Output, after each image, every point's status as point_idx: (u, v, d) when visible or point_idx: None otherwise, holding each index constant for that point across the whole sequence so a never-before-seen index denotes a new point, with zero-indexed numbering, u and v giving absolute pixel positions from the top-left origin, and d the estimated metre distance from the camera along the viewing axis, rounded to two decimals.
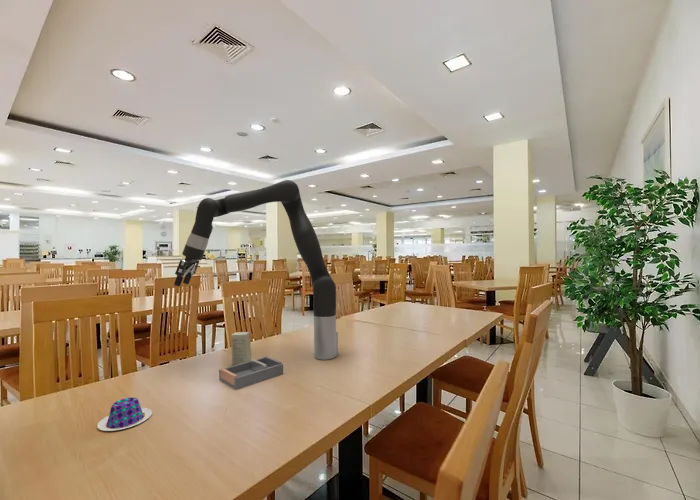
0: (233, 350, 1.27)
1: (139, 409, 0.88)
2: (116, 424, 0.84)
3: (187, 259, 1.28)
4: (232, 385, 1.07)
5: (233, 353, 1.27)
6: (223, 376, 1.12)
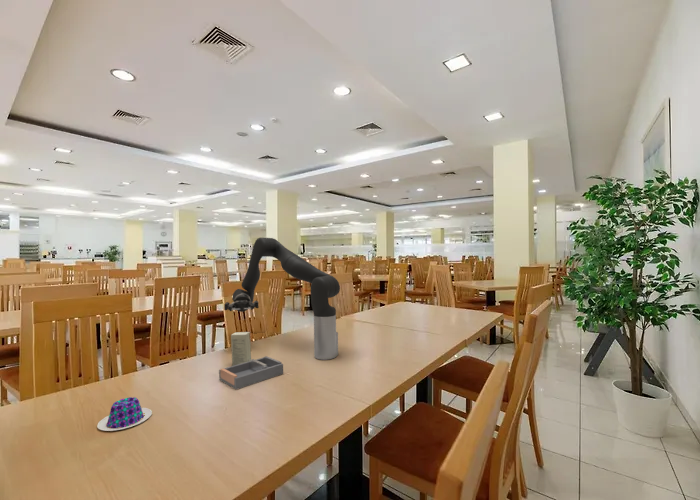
0: (233, 350, 1.27)
1: (139, 409, 0.88)
2: (117, 424, 0.84)
3: None
4: (232, 385, 1.07)
5: (233, 353, 1.27)
6: (223, 376, 1.12)
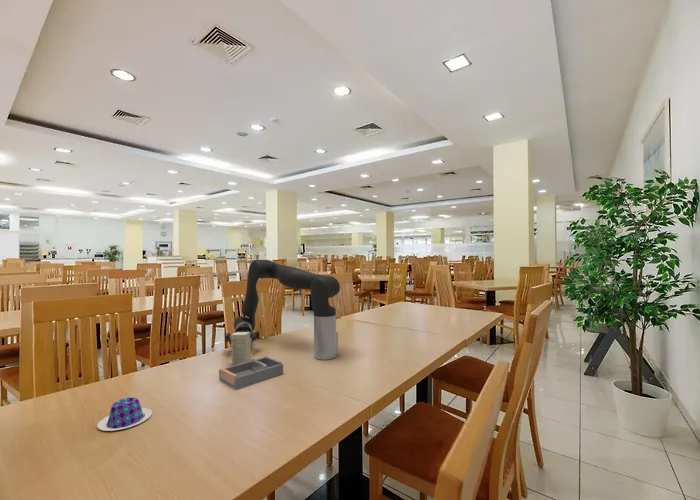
0: (233, 350, 1.27)
1: (140, 408, 0.88)
2: (118, 424, 0.84)
3: None
4: (232, 385, 1.07)
5: (233, 353, 1.27)
6: (223, 376, 1.12)
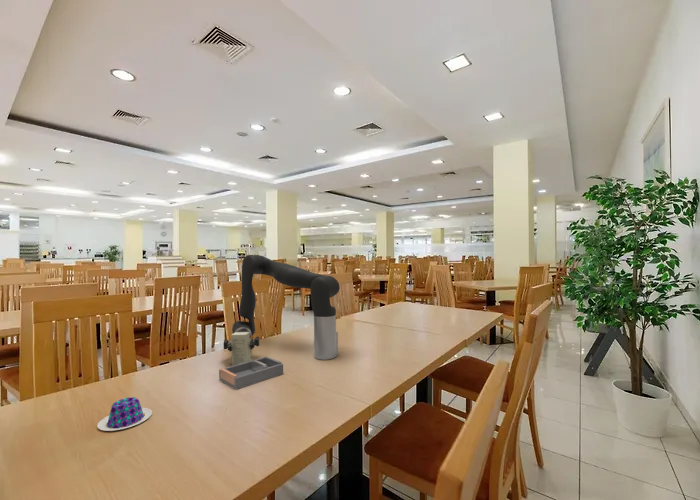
0: (233, 350, 1.27)
1: (140, 408, 0.89)
2: (119, 424, 0.84)
3: None
4: (232, 385, 1.07)
5: (233, 353, 1.27)
6: (223, 376, 1.12)
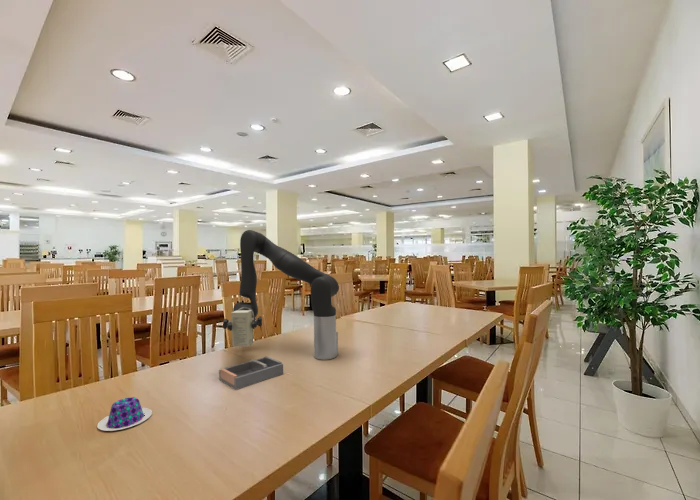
0: (233, 329, 1.16)
1: (140, 407, 0.89)
2: (121, 423, 0.84)
3: None
4: (232, 385, 1.07)
5: (233, 333, 1.16)
6: (223, 376, 1.12)
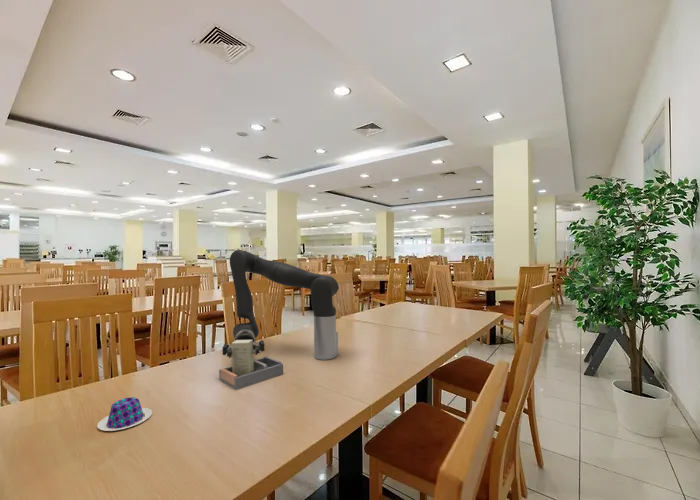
0: (234, 360, 1.12)
1: (140, 407, 0.89)
2: (122, 423, 0.84)
3: None
4: (232, 385, 1.07)
5: (234, 364, 1.12)
6: (223, 376, 1.12)
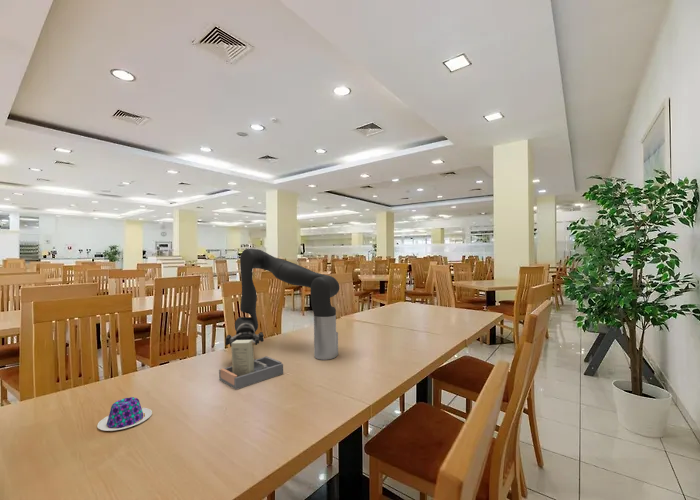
0: (234, 360, 1.12)
1: (140, 406, 0.89)
2: (124, 423, 0.84)
3: None
4: (232, 385, 1.07)
5: (234, 364, 1.12)
6: (223, 376, 1.12)
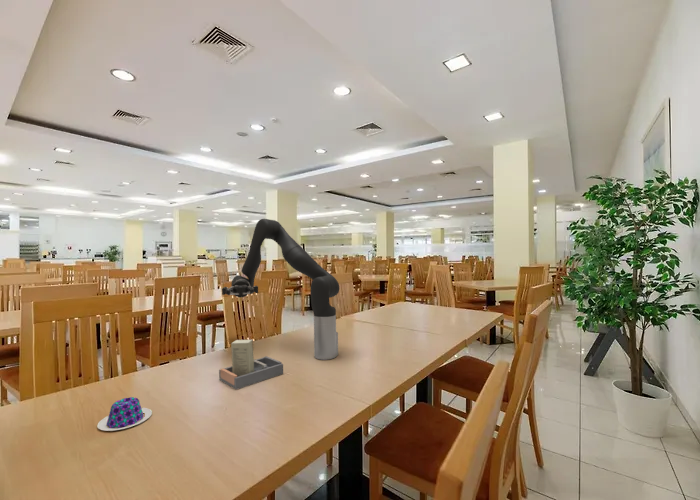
0: (234, 360, 1.12)
1: (140, 406, 0.90)
2: (125, 423, 0.84)
3: None
4: (232, 385, 1.07)
5: (234, 364, 1.12)
6: (223, 376, 1.12)
